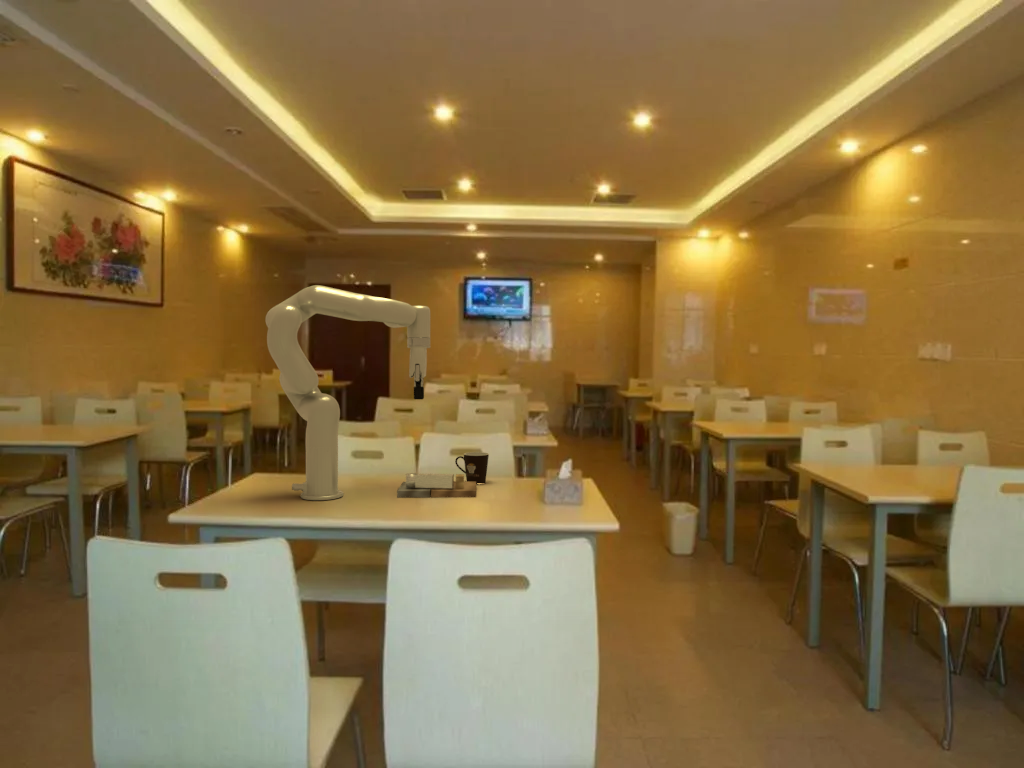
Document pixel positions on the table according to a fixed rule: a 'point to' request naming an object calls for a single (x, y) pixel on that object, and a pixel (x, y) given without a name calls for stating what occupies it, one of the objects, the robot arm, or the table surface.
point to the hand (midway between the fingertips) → (418, 399)
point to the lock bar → (429, 480)
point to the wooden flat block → (441, 490)
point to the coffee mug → (475, 466)
